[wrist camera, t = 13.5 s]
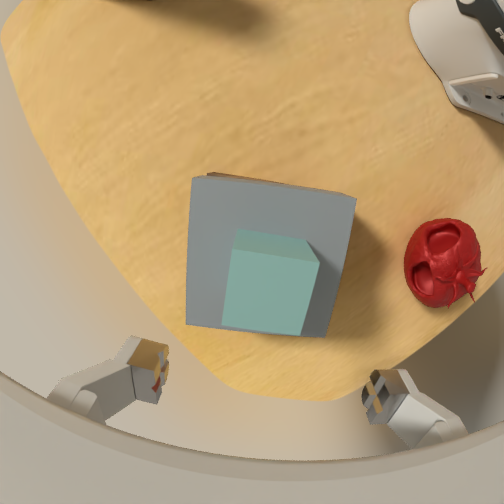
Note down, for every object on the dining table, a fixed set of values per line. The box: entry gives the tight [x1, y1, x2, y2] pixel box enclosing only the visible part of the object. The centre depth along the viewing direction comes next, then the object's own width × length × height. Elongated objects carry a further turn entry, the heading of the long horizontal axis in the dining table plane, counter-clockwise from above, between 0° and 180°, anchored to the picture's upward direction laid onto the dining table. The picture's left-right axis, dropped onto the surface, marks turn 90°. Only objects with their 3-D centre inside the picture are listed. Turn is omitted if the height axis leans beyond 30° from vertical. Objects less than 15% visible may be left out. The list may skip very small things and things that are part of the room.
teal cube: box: [221, 229, 320, 336], centre depth 19 cm, size 5×5×5 cm
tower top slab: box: [186, 175, 357, 338], centre depth 23 cm, size 12×12×4 cm
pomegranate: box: [404, 218, 487, 308], centre depth 24 cm, size 10×10×9 cm
